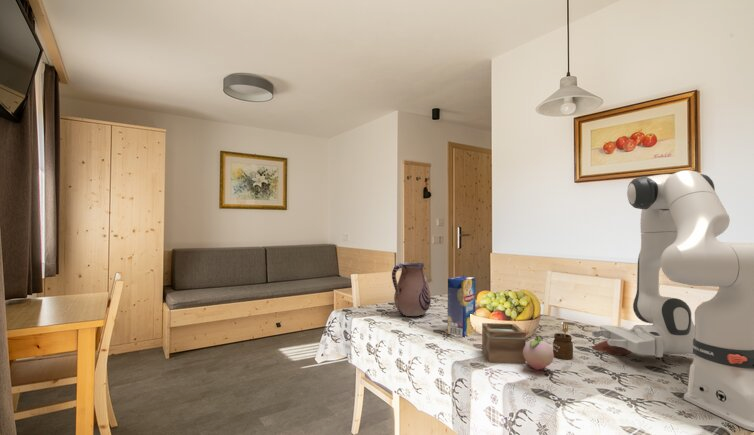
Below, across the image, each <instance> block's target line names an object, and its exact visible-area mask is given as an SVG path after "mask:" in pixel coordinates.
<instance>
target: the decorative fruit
mask: <svg viewBox="0 0 754 435" xmlns="http://www.w3.org/2000/svg"><path fill="white" fill-rule="evenodd" d="M523 355H524V358H525V360H526V363H527V364H528V366H530V367H531V368H532V369H533V370H535V371H539V370H542V369H544V368H546V367H548V366H550V365H551V364H552V362H553V361H554V358H555V356H554V353H553V347H552V346H551V344H549V343H548V342H547V341H545V340H544V339H543V338H540V337H539V336H538V335H536V337H535V338H533V339H530V340H528V341H527V342H526V345H525V347H524V349H523Z"/></svg>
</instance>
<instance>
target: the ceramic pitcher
mask: <svg viewBox="0 0 754 435" xmlns="http://www.w3.org/2000/svg"><path fill="white" fill-rule="evenodd" d="M424 266H425V264H424V263H423V262H410V261H409V262H401V263H399V264H396V265H395V266H394V267H393V269H392V272H391V280H392V284H393V286H394V290H395V291H394V296H393V301H394V305H395V307H396V310H397V311H398V312H399V313H400V315H402V314H403V315H402V316H404V315H406V316H405V317H407V316H419V315H422V316H424V315H425V314H426V313H427V311H428V310H429V308H430V306H431V302H432V300H431V298H432V297H431V292H430V288H429V287H430V286H429V283H428V278H427V277H426V274H425V272H424ZM399 269H401V272H400V276H399V278H398V281H397V272H398V270H399ZM419 317H420V316H419Z"/></svg>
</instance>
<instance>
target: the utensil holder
mask: <svg viewBox="0 0 754 435" xmlns="http://www.w3.org/2000/svg"><path fill="white" fill-rule="evenodd" d="M557 325H559V328H562V331H560V329H557V330H558V332H557V333H554V335H553V338H554V339H553V340H552V350H553V353H554V358H555V357H556V358H557V359H561V360H571V359H573V357H574V343H573V341H572V339H573V338H572V335H570V334H568V333H567V332H569V322H564V321H561V322H558V324H557ZM561 325H562V326H561Z"/></svg>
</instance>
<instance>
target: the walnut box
mask: <svg viewBox="0 0 754 435" xmlns="http://www.w3.org/2000/svg"><path fill="white" fill-rule="evenodd" d="M481 328H482V330H481V336H482V338H481V348H482V349H481V350H482V351H481V352H482V353H483V355H484V356H485V358H486V359H487V361H488V363H496V364H497V363H499V364H526V363H527V362H526V360H525V358H524V355H523V349H524V347H525V345H526V343H527V342H526V340H527V339H526V332H525V331H524V330H522V328H520V326H518V325H517V324H516V323H496V322H495V323H493V322H491V323H490V322H489V323H488V322H482V323H481Z"/></svg>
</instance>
